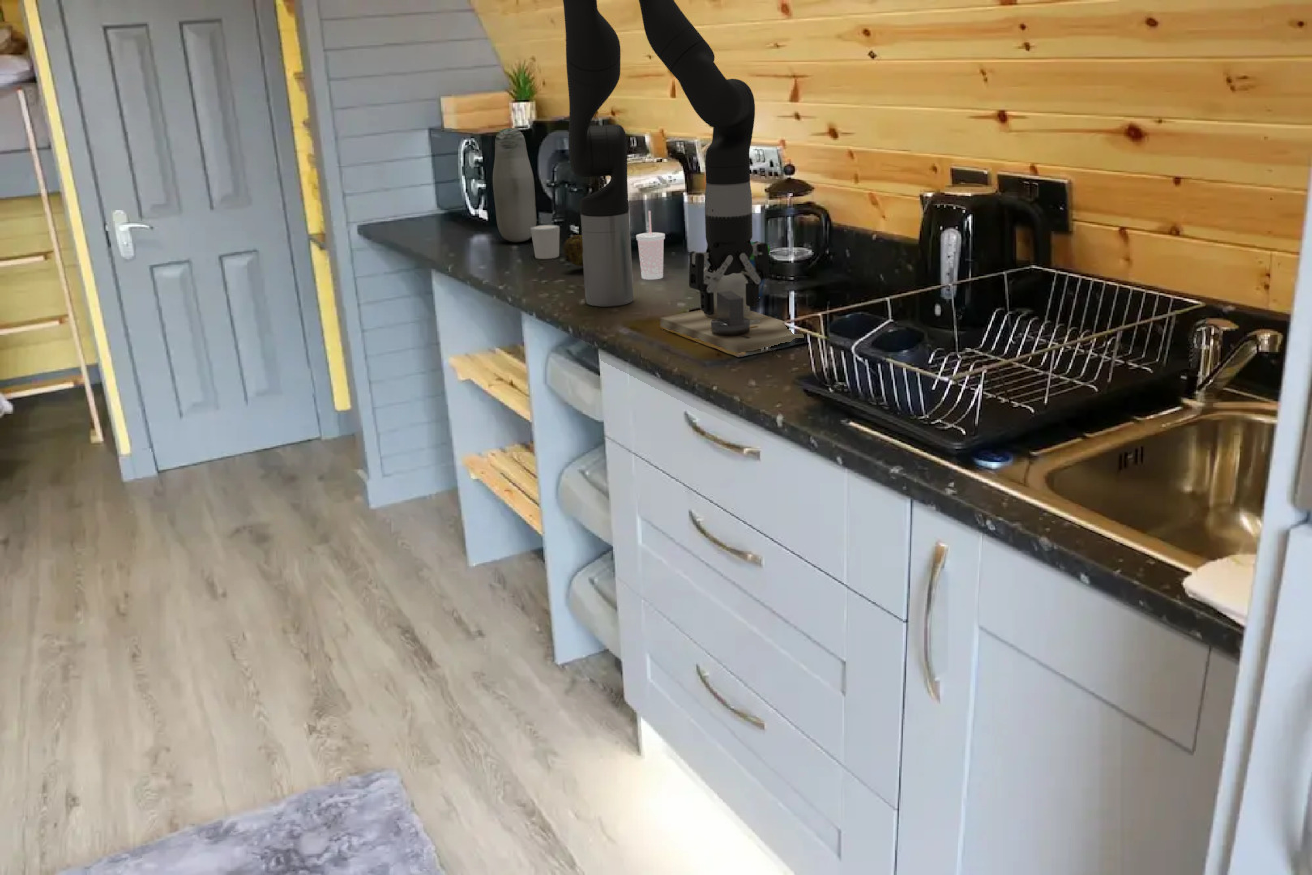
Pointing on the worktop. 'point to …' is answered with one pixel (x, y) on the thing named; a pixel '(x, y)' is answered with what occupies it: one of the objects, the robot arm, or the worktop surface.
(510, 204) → the grey bottle
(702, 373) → the worktop surface
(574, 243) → the potato
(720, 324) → the dark grey rotary knob
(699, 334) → the base
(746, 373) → the worktop surface
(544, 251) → the white tapered cup
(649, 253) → the beverage cup
